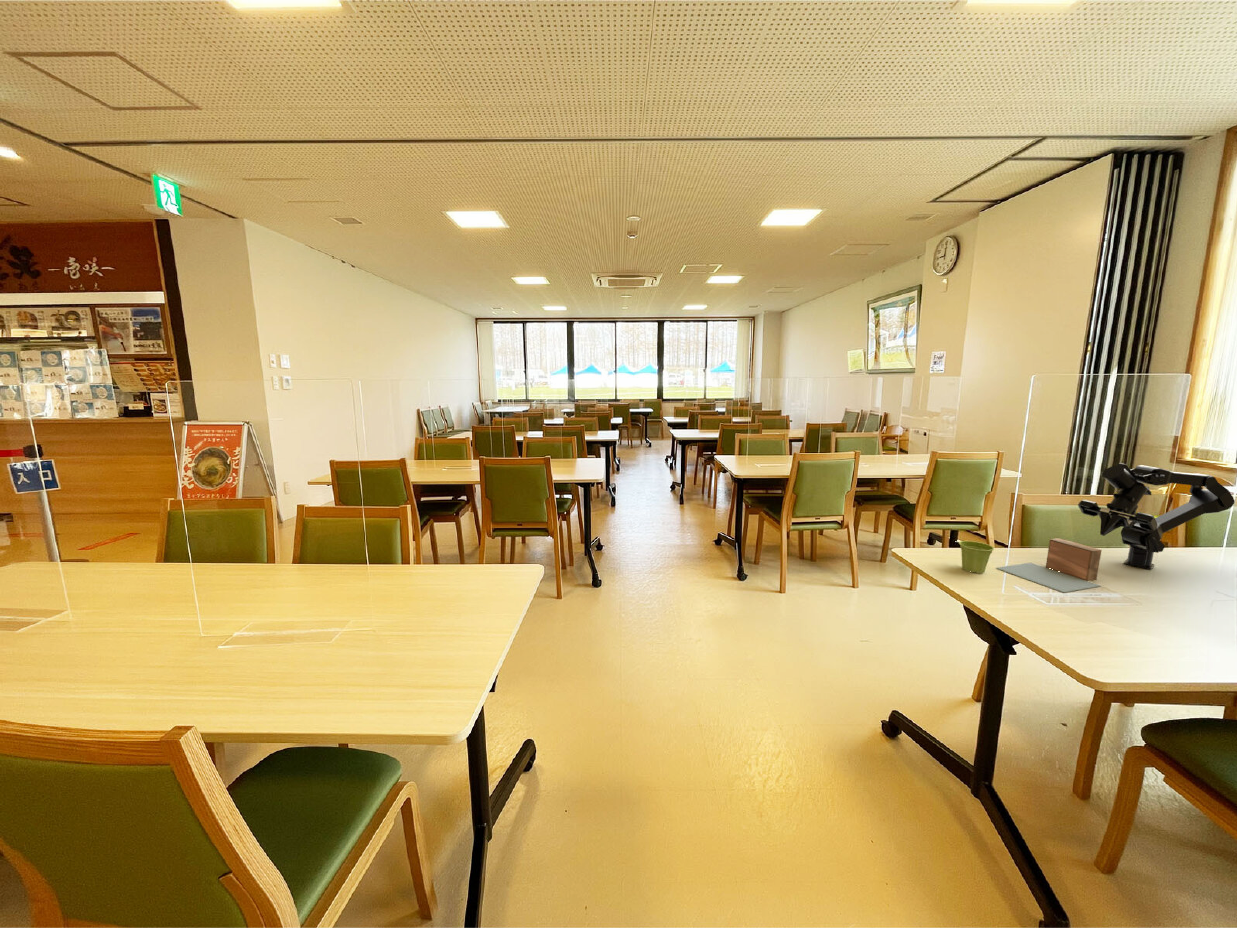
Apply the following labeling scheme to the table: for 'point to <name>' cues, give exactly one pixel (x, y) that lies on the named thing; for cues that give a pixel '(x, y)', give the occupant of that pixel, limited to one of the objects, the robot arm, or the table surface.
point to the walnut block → (1073, 559)
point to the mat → (1048, 577)
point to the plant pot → (975, 555)
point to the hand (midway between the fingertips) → (1101, 534)
